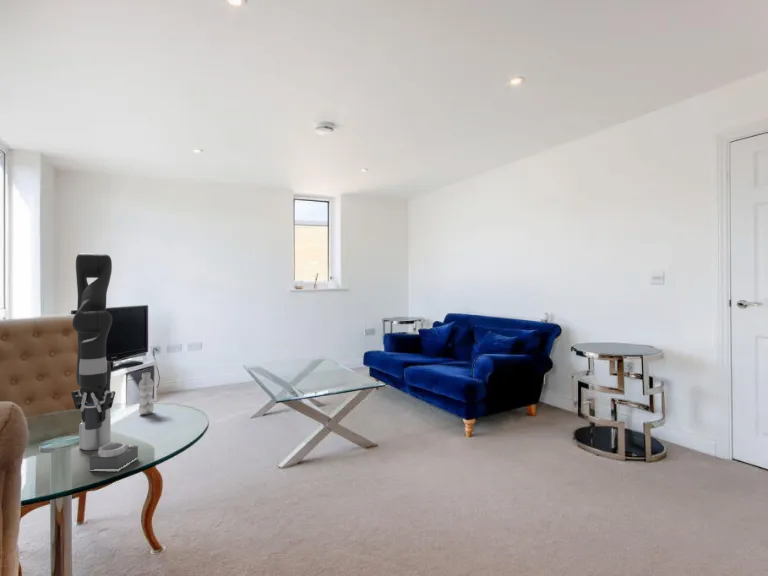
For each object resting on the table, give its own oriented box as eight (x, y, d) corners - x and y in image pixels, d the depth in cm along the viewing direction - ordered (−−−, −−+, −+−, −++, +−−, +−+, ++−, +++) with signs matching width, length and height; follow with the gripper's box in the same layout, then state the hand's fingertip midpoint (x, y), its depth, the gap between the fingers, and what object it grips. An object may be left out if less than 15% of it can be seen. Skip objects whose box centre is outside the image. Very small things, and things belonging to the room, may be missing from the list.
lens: (80, 429, 132) (80, 404, 131) (92, 424, 136) (92, 400, 136) (94, 430, 131) (94, 405, 131) (105, 424, 136) (105, 401, 136)
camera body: (89, 471, 136) (89, 451, 136) (111, 458, 146) (111, 439, 146) (118, 472, 136) (118, 451, 136) (137, 459, 146) (137, 440, 146)
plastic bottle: (150, 411, 200) (150, 371, 200) (156, 413, 196) (156, 373, 196) (136, 414, 195) (136, 373, 195) (141, 417, 191) (141, 375, 191)
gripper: (63, 373, 130) (63, 425, 131) (105, 374, 129) (105, 426, 130) (82, 367, 138) (82, 417, 138) (121, 369, 137) (122, 418, 137)
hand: (93, 421), depth 134 cm, fingers closed on lens, 4 cm apart
